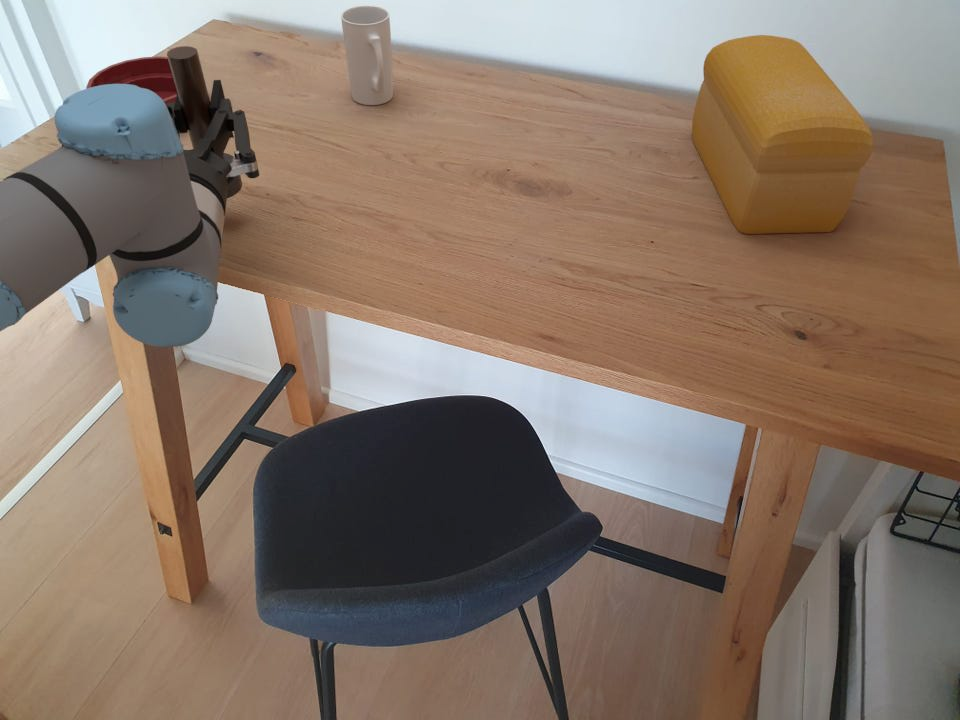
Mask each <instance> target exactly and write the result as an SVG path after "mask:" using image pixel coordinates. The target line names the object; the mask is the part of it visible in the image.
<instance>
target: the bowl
mask: <svg viewBox="0 0 960 720" xmlns="http://www.w3.org/2000/svg"><path fill="white" fill-rule="evenodd" d="M106 84H130V85H136V86H138V87H140V88H144V89H148V90H150V91H153V92H154V93H156V94H157V95H158V96H159V97H160V98H161V99H162V100H163V101H164V103H165V104H166V105H167V104H168V103H172V102H175V100H176V96H177V89H176V86H175V82H174V78H173V75H172V71H171V68H170V64H169V60H168V57H167V56H160V55H159V56H145V57H144V56H143V57H137V58H132V59H127V60H123V61H120V62H117V63H114V64H111V65H108V66H107V67H105V68H102V69H101V70H99V71H97V72H96V73H95V74H94V75H93V76H92V77H90V78H89V80H88V82H87V84H86V87H85V89H87V88H91V87H95V86H100V85H106Z"/></svg>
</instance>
